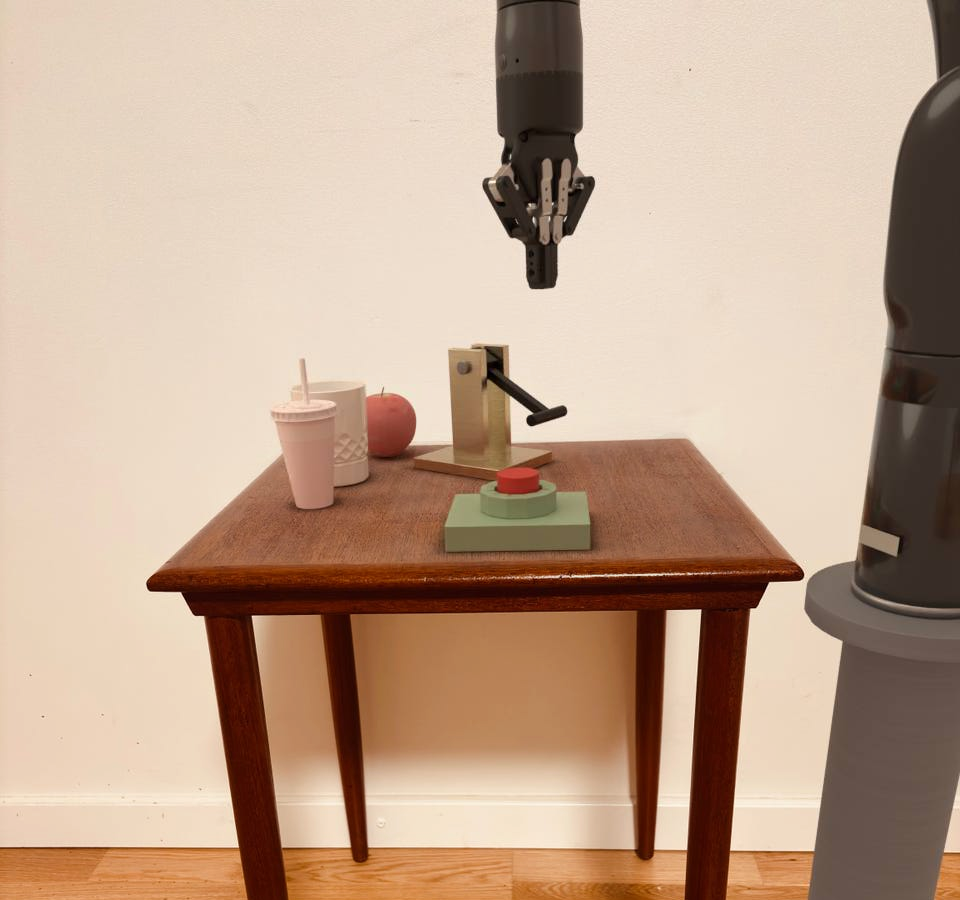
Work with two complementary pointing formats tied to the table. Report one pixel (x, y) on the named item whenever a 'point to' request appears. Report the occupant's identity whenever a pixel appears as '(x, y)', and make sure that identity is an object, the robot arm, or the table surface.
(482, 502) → the button block
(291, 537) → the table surface
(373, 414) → the apple
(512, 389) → the lever
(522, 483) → the button
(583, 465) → the table surface
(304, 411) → the smoothie
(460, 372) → the tan pivot stand
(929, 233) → the robot arm
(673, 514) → the table surface
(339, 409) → the white cup
